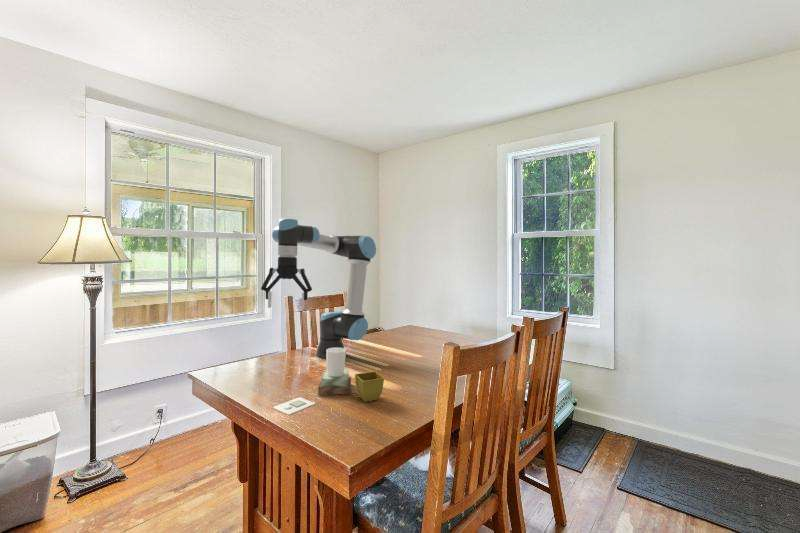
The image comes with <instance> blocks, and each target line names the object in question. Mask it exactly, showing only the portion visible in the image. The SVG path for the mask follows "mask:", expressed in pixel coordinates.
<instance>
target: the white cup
mask: <svg viewBox="0 0 800 533" xmlns="http://www.w3.org/2000/svg"><path fill="white" fill-rule="evenodd" d="M346 355H347V349H346V348H345V347H344V348H338V347H335V348H329V349H327V350H326V358H325V359H326V370H327V375H328V376H331V377H339V376H342V375H344V371H345V367H346Z"/></svg>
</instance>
